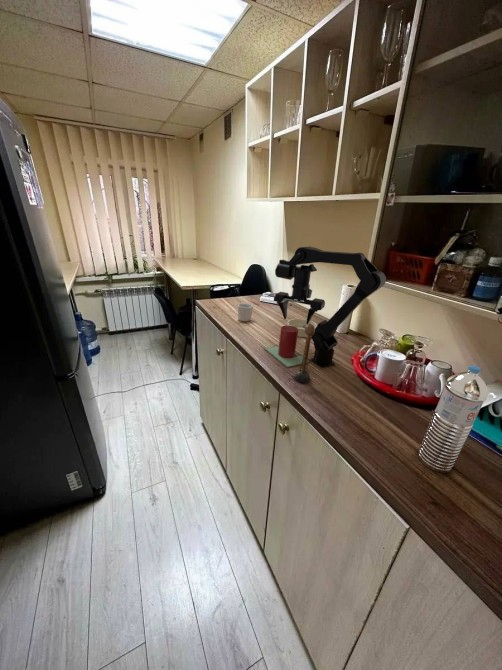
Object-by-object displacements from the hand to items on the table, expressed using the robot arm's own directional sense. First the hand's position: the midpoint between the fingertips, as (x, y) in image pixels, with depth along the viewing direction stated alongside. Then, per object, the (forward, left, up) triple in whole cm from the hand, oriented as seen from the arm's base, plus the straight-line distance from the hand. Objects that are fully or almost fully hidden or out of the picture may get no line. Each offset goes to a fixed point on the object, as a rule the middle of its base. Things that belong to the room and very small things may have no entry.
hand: (296, 321), depth 107 cm
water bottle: (-59, +4, -13) cm, 61 cm away
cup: (+40, +2, -9) cm, 41 cm away
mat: (-2, +5, -13) cm, 14 cm away
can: (-2, +5, -12) cm, 13 cm away
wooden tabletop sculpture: (-18, +10, -13) cm, 25 cm away
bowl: (+15, -16, -13) cm, 25 cm away
